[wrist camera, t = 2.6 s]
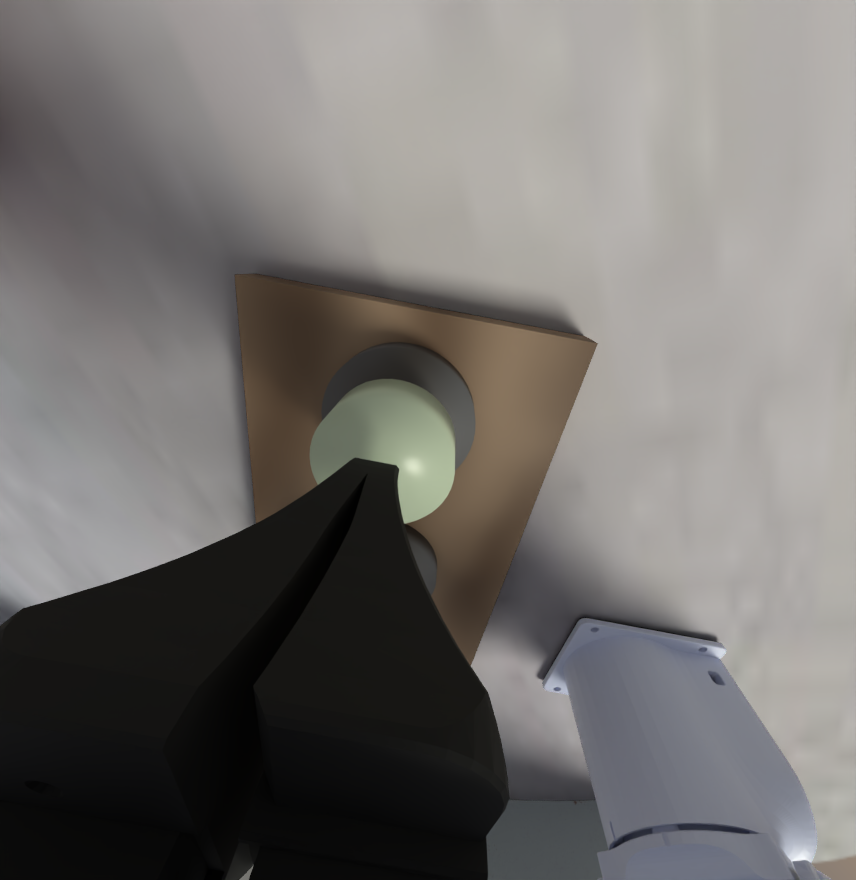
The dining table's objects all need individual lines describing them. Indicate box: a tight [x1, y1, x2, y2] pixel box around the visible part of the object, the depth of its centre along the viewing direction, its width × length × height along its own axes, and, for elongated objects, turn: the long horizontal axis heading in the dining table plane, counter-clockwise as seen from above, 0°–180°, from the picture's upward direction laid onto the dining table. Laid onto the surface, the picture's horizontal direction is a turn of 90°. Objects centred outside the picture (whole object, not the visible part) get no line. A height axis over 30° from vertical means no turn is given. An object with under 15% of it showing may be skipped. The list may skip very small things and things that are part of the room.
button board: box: [235, 274, 598, 666], centre depth 19 cm, size 14×27×2 cm, turn 170°
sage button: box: [310, 379, 455, 524], centre depth 12 cm, size 5×5×2 cm
